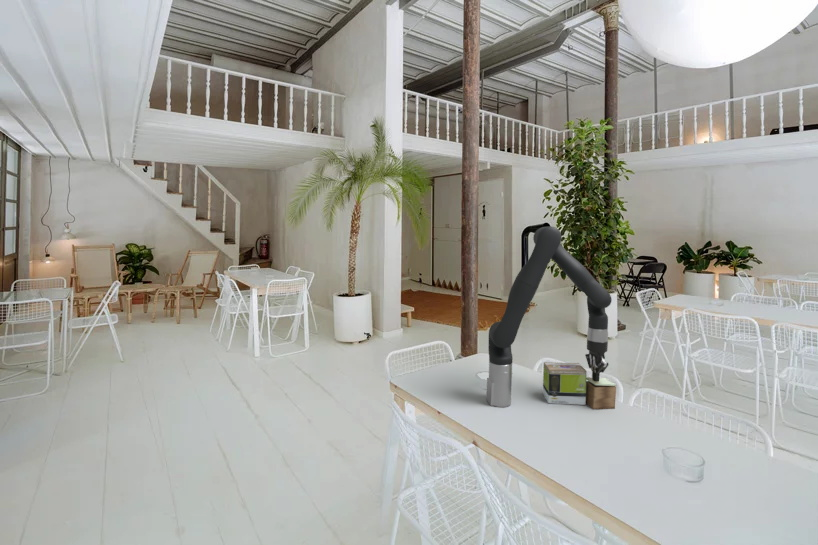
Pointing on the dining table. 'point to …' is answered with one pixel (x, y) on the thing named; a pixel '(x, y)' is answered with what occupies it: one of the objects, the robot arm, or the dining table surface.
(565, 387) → the tea box
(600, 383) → the lid
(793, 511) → the dining table surface
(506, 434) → the dining table surface
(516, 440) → the dining table surface
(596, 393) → the chest
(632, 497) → the dining table surface
